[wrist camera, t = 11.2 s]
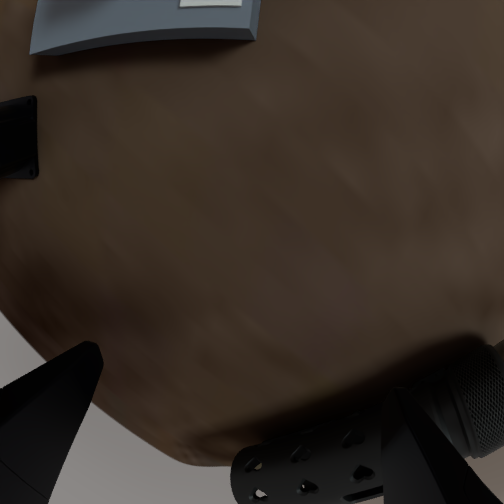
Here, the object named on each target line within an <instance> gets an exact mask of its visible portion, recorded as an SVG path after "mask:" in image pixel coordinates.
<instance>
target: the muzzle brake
mask: <svg viewBox="0 0 504 504" xmlns="http://www.w3.org/2000/svg"><path fill="white" fill-rule="evenodd" d="M408 391H409V392H410V393H411V394H412V396H413V397H414V398H415V399H416V400H417V402H418V403H419V404H420V405H421V406H422V408H423V409H424V410H425V411H426V412H427V414H428V415H429V416H430V417H431V419H432V420H433V421H434V422H435V423H436V425H437V426H438V427H439V428H440V430H441V431H442V432H443V433H444V434H445V436H446V437H447V438H448V439H449V441H450V442H451V443H452V444H453V446H454V447H455V448H456V449H457V451H458V452H459V453H460V454H461V456H462V457H463V458H466V457H468V456H471V457H472V458H474V459H475V458H478V457H480V458H483V457H485V456H487V455H488V454H490V453H492V452H494V451H495V450H497V449H499V448H501V447H503V446H504V340H502V341H501V342H499V343H498V344H496V345H495V346H491V345H482V346H480V347H478V348H477V349H475V350H474V351H472V352H471V353H469V354H467V355H466V356H464V357H462V358H461V359H459V360H457V361H456V362H454V363H452V364H451V365H449V367H448V369H447V370H445V369H444V368H442V369H440V370H438V371H436V372H435V373H433V374H431V375H429V376H427V377H425V378H423V379H421V380H419V381H418V382H416V383H414V384H413V387H412V389H410V390H408ZM382 405H383V402H382V403H380V404H377V405H375V406H373V407H370V408H368V409H365V410H363V411H361V412H359V411H355V412H354V413H353V415H350V416H348V417H345V418H342V419H340V420H337V421H336V420H335V419H334V420H332V421H329V422H326V423H323V424H320V425H317V426H314V427H311V428H308V429H305V430H302V431H299V432H295V433H292V434H289V435H285V436H282V437H278V438H274V439H271V440H267V441H263V443H262V444H258V445H253V446H249V447H246V448H243V449H242V450H241V451H239V453H238V454H237V455H236V456H235V458H234V460H233V463H232V467H231V474H230V480H231V488H232V492H233V495H234V497H235V500H236V501H237V503H238V504H354V503H358V502H362V501H366V500H369V499H373V498H377V497H380V496H383V495H384V494H383V476H382V462H381V410H382ZM260 463H262V467H261V468H260V469H258V470H256V469H254V468H255V467H256V466H257V465H258V464H260ZM302 485H304V488H303V487H302ZM258 489H259V490H261V491H262V492H264V493H265V494H266V495H267V496H263V497H258V496H257V495H256V491H257V490H258Z"/></svg>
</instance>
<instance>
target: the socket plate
mask: <svg viewBox="0 0 504 504" xmlns="http://www.w3.org/2000/svg"><path fill="white" fill-rule="evenodd" d="M260 3H261V0H38V4H37V9H36V14H35V19H34V25H33V31H32V38H31V46H30V54H29V55H53V56H58V55H63V54H67V53H72V52H76V51H81V50H86V49H92V48H98V47H104V46H110V45H117V44H125V43H133V42H143V41H155V40H170V39H240V40H256V35H257V27H258V19H259V11H260Z"/></svg>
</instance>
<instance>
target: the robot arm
mask: <svg viewBox="0 0 504 504" xmlns="http://www.w3.org/2000/svg"><path fill="white" fill-rule="evenodd" d="M38 174H39V169H38V154H37V98H36V96H34V95H32V96H26V97H21V98H17V99H13V100H9V101H4V102H1V103H0V179H2V178H29V179H32V178H35V177H37V176H38ZM103 365H104V362H103V358H102V355H101V352H100V349H99V346H98V345H97V344H96V343H94V342H91V341H84V342H82V343H80V344H78V345H77V346H75V347H73V348H71V349H69V350H68V351H66V352H64V353H62V354H61V355H59V356H57V357H55V358H53V359H52V360H50V361H48V362H46V363H45V364H43V365H41V366H39V367H38V368H36V369H34V370H32V371H31V372H29V373H27V374H25V375H23V376H22V377H20V378H18V379H16V380H15V381H13V382H11V383H10V384H8V385H6V386H4V387H3V389H2V388H0V504H48V502H49V499H50V497H51V494H52V491H53V489H54V486H55V484H56V481H57V479H58V476H59V474H60V471H61V469H62V466H63V464H64V462H65V459H66V457H67V455H68V452H69V450H70V448H71V445H72V443H73V441H74V438H75V436H76V434H77V432H78V430H79V427H80V425H81V423H82V421H83V419H84V416H85V414H86V412H87V410H88V408H89V405H90V403H91V400H92V397H93V394H94V392H95V389H96V386H97V383H98V380H99V377H100V375H101V372H102V369H103ZM381 462H382V476H383V494H384V504H503V503H502V502H501V501H500V500H499V499H498V498H497V497H496V496H495V495H494V494H493V493H492V492H491V491H490V489H489V488H488V487H487V486H486V485H485V484H484V483H483V482H482V481H481V479H480V478H479V477H478V476H477V474H476V473H475V472H474V471H473V469H472V468H471V467H470V466H468V464H467V462H466V461H465V459H464V458H463V457H462V456H461V454H460V453H459V452H458V451H457V449H456V448H455V447H454V446H453V444H452V443H451V442H450V441H449V439H448V438H447V437H446V436H445V434H444V433H443V432H442V431H441V430H440V428H439V427H438V426H437V425H436V423H435V422H434V421H433V420H432V419H431V417H430V416H429V415H428V414H427V412H426V411H425V410H424V409H423V408H422V406H421V405H420V404H419V403H418V402H417V400H416V399H415V398H414V397H413V396H412V394H411V393H410V392H409V391H408V390H407V389H406V388H405V387H393V388H392V389H391V390H390V392H389V394H388V396H387V397H386V399H385V401H384V402H383V405H382V410H381Z"/></svg>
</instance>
